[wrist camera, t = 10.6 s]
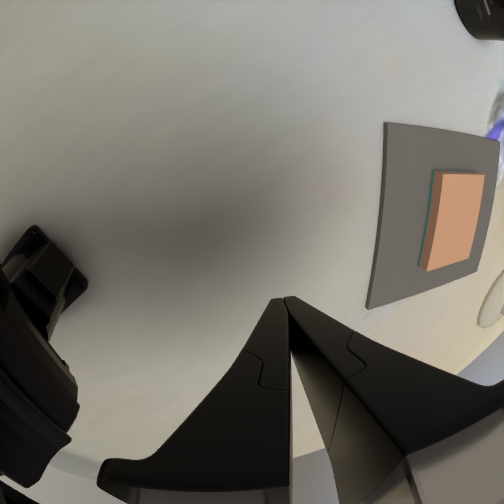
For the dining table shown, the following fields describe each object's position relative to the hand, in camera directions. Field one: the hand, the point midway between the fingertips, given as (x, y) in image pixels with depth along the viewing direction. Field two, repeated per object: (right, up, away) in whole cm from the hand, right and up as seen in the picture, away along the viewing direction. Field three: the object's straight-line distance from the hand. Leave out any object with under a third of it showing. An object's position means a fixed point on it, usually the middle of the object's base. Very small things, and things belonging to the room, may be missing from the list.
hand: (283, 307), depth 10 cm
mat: (+20, +6, +16) cm, 26 cm away
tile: (+16, +5, +14) cm, 22 cm away
